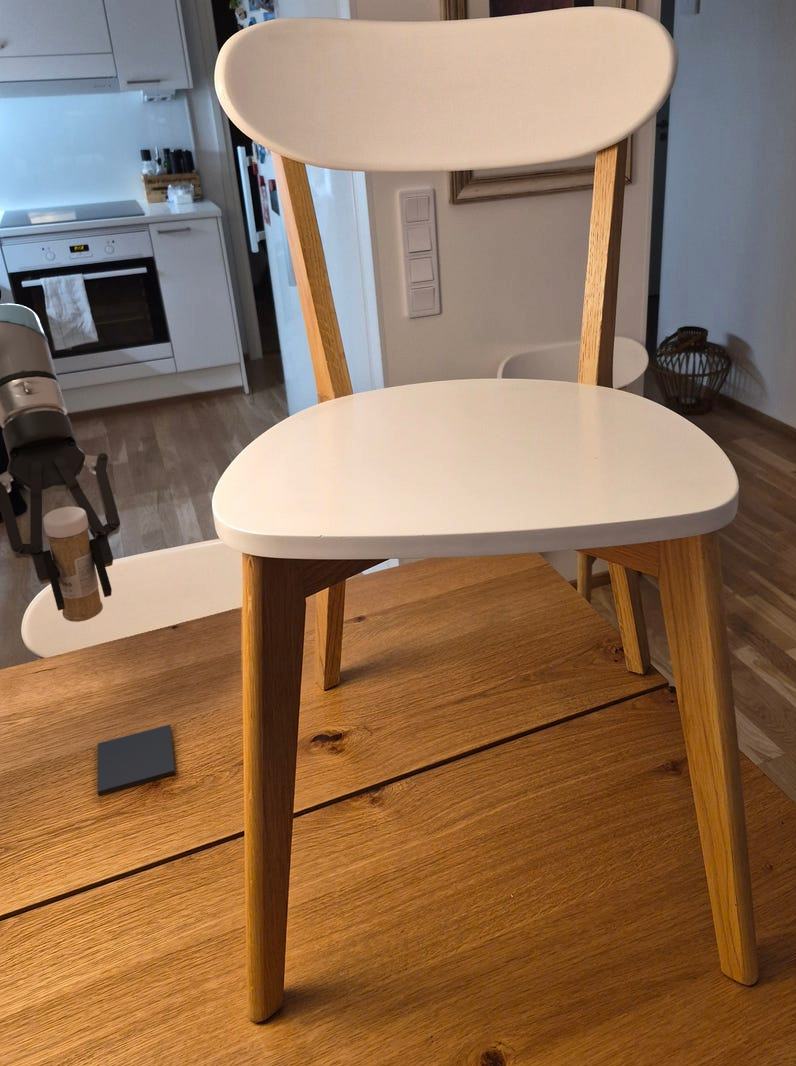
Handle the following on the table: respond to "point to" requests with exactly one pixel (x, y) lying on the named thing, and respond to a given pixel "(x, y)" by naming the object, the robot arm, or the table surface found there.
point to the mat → (135, 759)
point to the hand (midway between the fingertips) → (84, 599)
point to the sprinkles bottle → (73, 562)
